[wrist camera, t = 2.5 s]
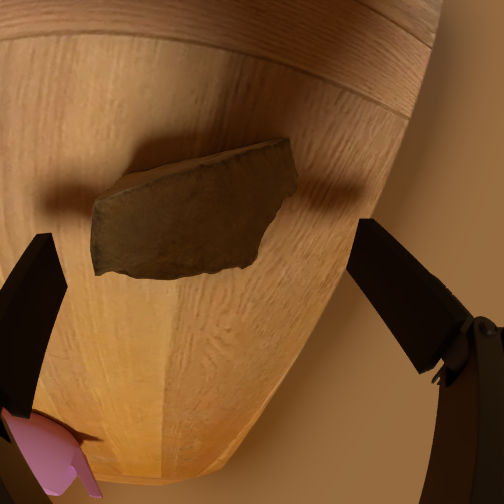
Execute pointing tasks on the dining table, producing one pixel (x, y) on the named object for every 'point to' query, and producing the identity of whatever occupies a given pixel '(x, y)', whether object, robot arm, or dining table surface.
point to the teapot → (51, 453)
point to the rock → (192, 213)
